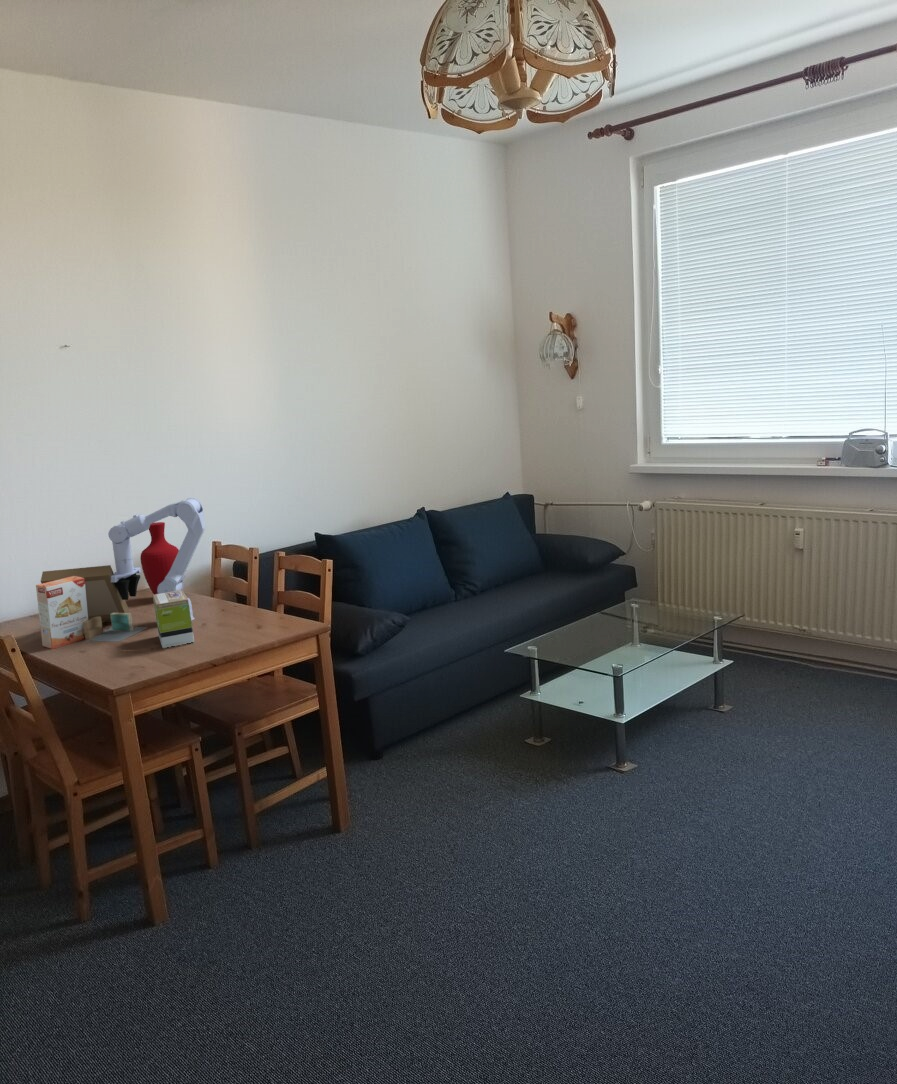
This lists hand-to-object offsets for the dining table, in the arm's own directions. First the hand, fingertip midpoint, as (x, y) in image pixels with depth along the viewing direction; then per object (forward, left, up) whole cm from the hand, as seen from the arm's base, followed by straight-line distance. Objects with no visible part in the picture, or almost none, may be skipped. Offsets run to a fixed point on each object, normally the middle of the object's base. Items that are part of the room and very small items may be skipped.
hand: (129, 597), depth 293 cm
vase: (+10, -36, -10) cm, 39 cm away
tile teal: (-1, +7, -10) cm, 12 cm away
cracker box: (+11, +20, -10) cm, 25 cm away
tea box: (-27, +16, -10) cm, 33 cm away
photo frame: (+18, -6, -4) cm, 19 cm away
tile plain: (+5, +14, -10) cm, 18 cm away
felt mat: (-1, +11, -10) cm, 15 cm away
